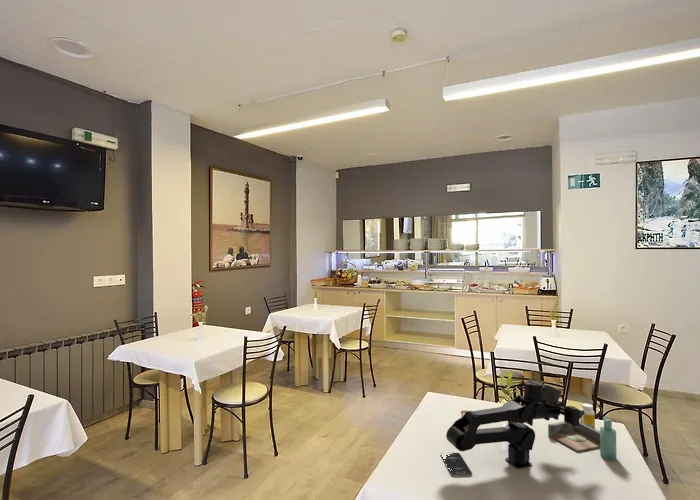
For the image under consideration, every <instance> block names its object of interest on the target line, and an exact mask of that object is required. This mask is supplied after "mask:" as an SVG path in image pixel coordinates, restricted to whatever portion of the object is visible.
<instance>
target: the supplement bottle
mask: <svg viewBox="0 0 700 500" xmlns="http://www.w3.org/2000/svg"><path fill="white" fill-rule="evenodd" d="M593 409H594V405H592V404H590V403H582V404H581V409H580V410H583V411H585V414H584V415H583V416H582V417H581V418H580V420H579V422H581V423H583V424H585V425H587V426H589V427H591V428H593V429H595V430H596V419H595V417H596V413H595V411H594V410H593Z"/></svg>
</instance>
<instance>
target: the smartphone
mask: <svg viewBox="0 0 700 500" xmlns="http://www.w3.org/2000/svg"><path fill="white" fill-rule="evenodd" d="M442 453H443V452H442ZM442 453H440V457H441V456H442V455H441V454H442ZM451 453H452V454H449V455H450V456H448V455H446V456H447V457H446V459H442V458H443V457H441V459H442V461H443V460H445V461H443V463H444V462H445V463H444V465H445V464H447V465H445V467H446V466H447V467H446V469H447V468H450V469H447V471H448V470H449V471H450V470H451V469H452V470H451V471H450V473H451V475H453V476H460V478H461V477H464V478H466V477H472V476H473V472H472V471H471V469H470V467H469V465H468V464H467V463H466V461H465V459H464V457H463V456H462V454H461V453H459V452H451ZM449 471H448V472H449ZM450 473H449V474H450ZM451 475H450V476H451ZM453 476H452V477H453Z"/></svg>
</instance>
